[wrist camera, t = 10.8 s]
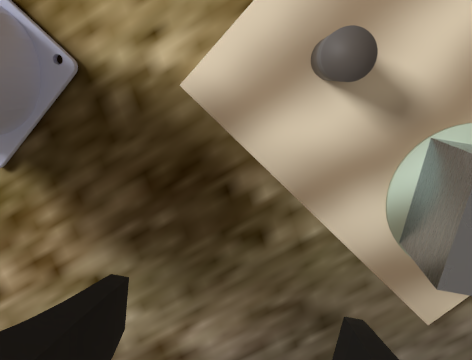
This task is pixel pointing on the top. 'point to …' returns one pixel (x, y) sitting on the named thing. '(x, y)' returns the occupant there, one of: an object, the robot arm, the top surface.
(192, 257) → the top surface
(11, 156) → the robot arm
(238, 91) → the board
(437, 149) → the steel collar
